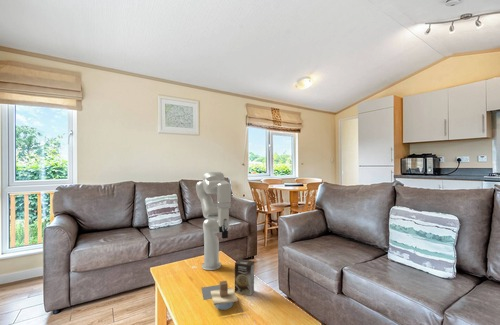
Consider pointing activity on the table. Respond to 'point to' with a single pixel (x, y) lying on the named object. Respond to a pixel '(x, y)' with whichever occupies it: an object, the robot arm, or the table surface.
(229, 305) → the bowl
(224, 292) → the lid
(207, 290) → the mat
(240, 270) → the coffee box
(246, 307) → the table surface
